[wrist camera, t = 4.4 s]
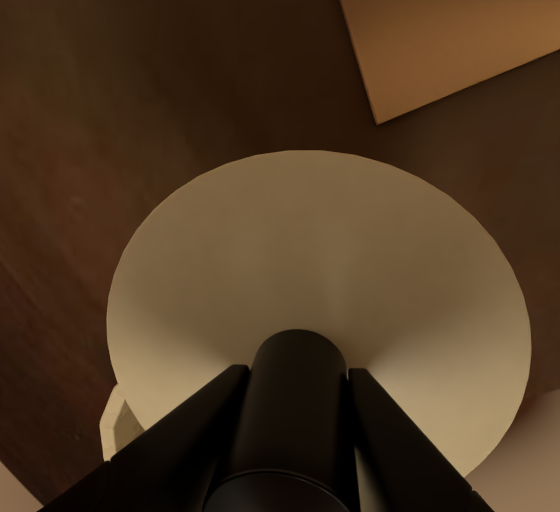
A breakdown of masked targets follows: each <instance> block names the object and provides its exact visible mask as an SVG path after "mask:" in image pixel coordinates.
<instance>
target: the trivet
mask: <svg viewBox="0 0 560 512" xmlns="http://www.w3.org/2000/svg"><path fill="white" fill-rule="evenodd" d="M339 2H340V5H341V9H342V12H343V16H344V19H345V22H346V26H347V29H348V32H349V36H350V39H351V42H352V46H353V49H354V52H355V56H356V59H357V62H358V66H359V69H360V72H361V76H362V79H363V82H364V86H365V89H366V93H367V96H368V99H369V103H370V106H371V109H372V113H373V116H374V119H375V123H376V125H379V124H381V123H384V122H386V121H388V120H391V119H393V118H396V117H398V116H401V115H403V114H405V113H408V112H410V111H413V110H415V109H417V108H420V107H422V106H425V105H427V104H429V103H432V102H434V101H437V100H439V99H441V98H444V97H446V96H449V95H451V94H453V93H456V92H458V91H461V90H463V89H465V88H468V87H470V86H473V85H475V84H478V83H480V82H482V81H485V80H487V79H490V78H492V77H494V76H497V75H499V74H502V73H504V72H506V71H509V70H511V69H514V68H516V67H518V66H521V65H523V64H526V63H528V62H530V61H533V60H535V59H538V58H540V57H542V56H545V55H547V54H550V53H552V52H554V51H557V50H559V49H560V0H339Z"/></svg>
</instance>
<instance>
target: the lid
mask: <svg viewBox="0 0 560 512" xmlns="http://www.w3.org/2000/svg"><path fill="white" fill-rule="evenodd" d="M107 341H108V347H109V352H110V358H111V363H112V366H113V369H114V372H115V375H116V379H117V382H118V384H119V387H120V389H121V391H122V393H123V395H124V397H125V400H126V402H127V404H128V405H129V407H130V409H131V410H132V412H133V414H134V415H135V417H136V418H137V420H138V422H139V423H140V424H141V426H142V427H143V428H144V429H145V431H146V430H147V429H148V428H150V427H151V426H152V425H154V424H155V423H156V422H158V421H159V420H160V419H162V418H163V417H164V416H165V415H167V414H168V413H169V412H171V411H172V410H173V409H175V408H176V407H177V406H178V405H180V404H181V403H182V402H184V401H185V400H186V399H188V398H189V397H190V396H191V395H193V394H194V393H195V392H197V391H198V390H199V389H201V388H202V387H203V386H205V385H206V384H207V383H208V382H210V381H211V380H212V379H214V378H215V377H216V376H218V375H219V374H220V373H221V372H223V371H224V370H225V369H227V368H228V367H229V366H231V365H233V364H244V365H248V366H249V369H250V372H249V375H248V378H247V381H246V384H245V386H244V389H243V392H242V395H241V398H240V400H239V403H238V406H237V409H236V412H235V414H234V417H233V420H232V423H231V426H230V429H229V431H228V434H227V437H226V440H225V443H224V445H223V448H222V451H221V454H220V457H219V459H218V462H217V465H216V468H215V471H214V474H213V476H212V479H211V482H210V485H209V488H208V490H207V493H206V496H205V499H204V502H203V506H202V512H361V504H360V495H359V485H358V475H357V465H356V455H355V445H354V435H353V426H352V416H351V406H350V396H349V386H348V370H349V368H365V369H367V370H368V371H369V372H370V373H371V375H372V376H373V377H374V378H375V379H376V380H377V381H378V382H379V384H380V385H381V386H382V387H383V388H384V389H385V390H386V391H387V392H388V394H389V395H390V396H391V397H392V398H393V399H394V400H395V401H396V403H397V404H398V405H399V406H400V407H401V408H402V409H403V410H404V412H405V413H406V414H407V415H408V416H409V417H410V418H411V419H412V420H413V422H414V423H415V424H416V425H417V426H418V427H419V428H420V429H421V431H422V432H423V433H424V434H425V435H426V436H427V437H428V438H429V439H430V441H431V442H432V443H433V444H434V445H435V446H436V447H437V448H438V450H439V451H440V452H441V453H442V454H443V455H444V456H445V457H446V459H447V460H448V461H449V462H450V463H451V464H452V465H453V466H454V467H455V469H456V470H457V471H458V472H459V473H460V474H461V475H462V476H463V478H464V477H465V476H466V475H467V474H468V473H470V472H471V471H472V470H473V469H474V468H475V467H477V466H478V465H479V464H480V463H481V462H482V461H483V460H484V459H485V458H486V457H487V456H488V454H489V453H490V452H491V451H492V450H493V449H494V448H495V447H496V446H497V445H498V443H499V442H500V440H501V439H502V437H503V436H504V434H505V433H506V431H507V430H508V428H509V427H510V425H511V423H512V421H513V419H514V417H515V415H516V413H517V410H518V408H519V406H520V404H521V402H522V399H523V395H524V392H525V388H526V384H527V381H528V377H529V369H530V360H531V351H532V350H531V334H530V322H529V317H528V313H527V309H526V305H525V300H524V296H523V293H522V291H521V288H520V286H519V284H518V281H517V279H516V277H515V274H514V272H513V269H512V267H511V266H510V264H509V262H508V261H507V259H506V258H505V256H504V254H503V253H502V251H501V250H500V248H499V246H498V245H497V243H496V242H495V240H494V239H493V238H492V237H491V236H490V235H489V234H488V232H487V231H486V230H485V229H484V228H483V227H482V226H481V224H480V223H479V222H478V221H477V220H476V219H475V217H473V216H472V215H471V214H470V213H469V212H467V211H466V210H465V209H464V208H463V207H462V206H460V205H459V204H458V203H457V202H456V201H454V200H453V199H452V198H451V197H450V196H448V195H447V194H445V193H444V192H442V191H440V190H439V189H437V188H435V187H434V186H432V185H431V184H429V183H427V182H426V181H424V180H423V179H421V178H419V177H417V176H414V175H412V174H410V173H408V172H405V171H403V170H401V169H398V168H396V167H394V166H392V165H389V164H386V163H382V162H379V161H375V160H372V159H368V158H365V157H361V156H357V155H352V154H345V153H337V152H330V151H323V150H288V151H281V152H274V153H267V154H260V155H254V156H251V157H247V158H244V159H240V160H237V161H234V162H230V163H227V164H224V165H222V166H220V167H217V168H215V169H213V170H211V171H209V172H206V173H204V174H202V175H200V176H198V177H196V178H195V179H193V180H192V181H190V182H188V183H187V184H185V185H184V186H182V187H181V188H179V189H177V190H176V191H174V192H173V193H172V194H171V195H170V196H169V197H167V198H166V199H165V200H164V201H163V202H162V203H161V204H160V205H158V206H157V207H156V208H155V209H154V210H153V211H152V212H151V213H150V215H149V216H148V217H147V218H146V219H145V221H144V222H143V223H142V224H141V225H140V226H139V228H138V229H137V230H136V232H135V233H134V235H133V237H132V238H131V240H130V242H129V243H128V245H127V247H126V248H125V250H124V252H123V254H122V257H121V259H120V261H119V264H118V266H117V269H116V271H115V273H114V277H113V281H112V285H111V289H110V293H109V299H108V309H107Z"/></svg>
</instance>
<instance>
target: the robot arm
mask: <svg viewBox="0 0 560 512" xmlns="http://www.w3.org/2000/svg"><path fill="white" fill-rule="evenodd" d="M249 372H250V369H249V366H248V365H244V364H233V365H231V366H229V367H228V368H227V369H225V370H224V371H223V372H221V373H220V374H219V375H218V376H216V377H215V378H214V379H212V380H211V381H210V382H208V383H207V384H206V385H205V386H203V387H202V388H201V389H199V390H198V391H197V392H195V393H194V394H193V395H191V396H190V397H189V398H188V399H186V400H185V401H184V402H182V403H181V404H180V405H178V406H177V407H176V408H175V409H173V410H172V411H171V412H169V413H168V414H167V415H165V416H164V417H163V418H162V419H160V420H159V421H158V422H156V423H155V424H154V425H152V426H151V427H150V428H148V429H147V430H146V431H145V432H143V433H142V434H141V435H139V436H138V437H137V438H135V439H134V440H133V441H132V442H130V443H129V444H128V445H126V446H125V447H124V448H122V449H121V450H120V451H118V452H117V453H116V454H115V455H113V456H112V457H111V459H110V461H109V460H107V461H105V462H104V463H103V464H101V465H100V466H99V467H97V468H96V469H95V470H93V471H92V472H91V473H90V474H88V475H87V476H86V477H84V478H83V479H82V480H80V481H79V482H77V483H76V484H75V485H73V486H72V487H71V488H69V489H68V490H67V491H65V492H64V493H63V494H61V495H60V496H59V497H57V498H56V499H54V500H53V501H51V502H50V503H49V504H47V505H46V506H44V507H43V508H42V509H40V510H38V511H37V512H202V506H203V502H204V499H205V496H206V493H207V490H208V488H209V485H210V482H211V479H212V476H213V474H214V471H215V468H216V465H217V462H218V459H219V457H220V454H221V451H222V448H223V445H224V443H225V440H226V437H227V434H228V431H229V429H230V426H231V423H232V420H233V417H234V414H235V412H236V409H237V406H238V403H239V400H240V398H241V395H242V392H243V389H244V386H245V384H246V381H247V378H248V375H249ZM348 386H349V396H350V406H351V416H352V426H353V435H354V445H355V455H356V465H357V475H358V485H359V495H360V504H361V512H494V511H493V510H492V509H491V508H490V506H488V504H487V503H486V502H485V501H484V500H483V499H482V498H481V496H480V495H479V494H478V493H477V492H476V491H472V487H471V485H470V484H469V483H468V482H467V481H466V480H465V479H464V478H463V476H462V475H461V474H460V473H459V472H458V471H457V470H456V469H455V467H454V466H453V465H452V464H451V463H450V462H449V461H448V460H447V459H446V457H445V456H444V455H443V454H442V453H441V452H440V451H439V450H438V448H437V447H436V446H435V445H434V444H433V443H432V442H431V441H430V439H429V438H428V437H427V436H426V435H425V434H424V433H423V432H422V431H421V429H420V428H419V427H418V426H417V425H416V424H415V423H414V422H413V420H412V419H411V418H410V417H409V416H408V415H407V414H406V413H405V412H404V410H403V409H402V408H401V407H400V406H399V405H398V404H397V403H396V401H395V400H394V399H393V398H392V397H391V396H390V395H389V394H388V392H387V391H386V390H385V389H384V388H383V387H382V386H381V385H380V384H379V382H378V381H377V380H376V379H375V378H374V377H373V376H372V375H371V373H370V372H369V371H368V370H367V369H365V368H349V370H348Z"/></svg>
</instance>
